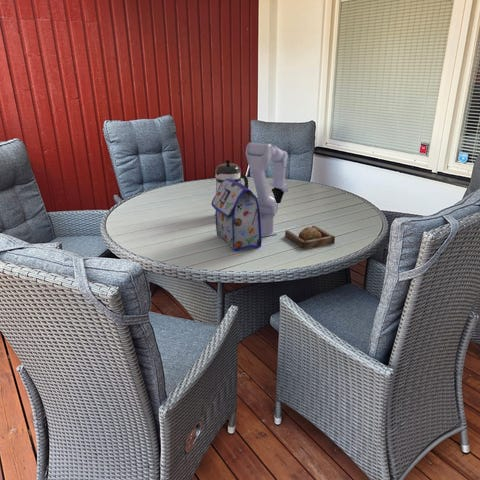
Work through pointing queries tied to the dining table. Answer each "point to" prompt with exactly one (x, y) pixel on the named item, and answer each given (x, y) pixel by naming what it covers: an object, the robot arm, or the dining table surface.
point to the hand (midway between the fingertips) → (278, 202)
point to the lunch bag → (237, 215)
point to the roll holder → (303, 244)
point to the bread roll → (309, 234)
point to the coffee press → (229, 174)
